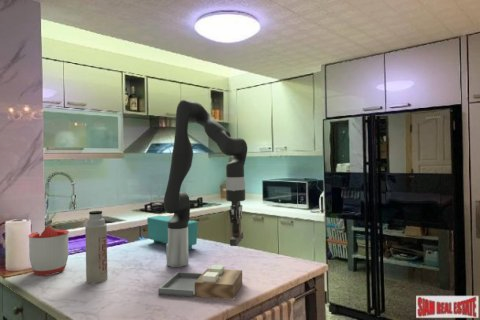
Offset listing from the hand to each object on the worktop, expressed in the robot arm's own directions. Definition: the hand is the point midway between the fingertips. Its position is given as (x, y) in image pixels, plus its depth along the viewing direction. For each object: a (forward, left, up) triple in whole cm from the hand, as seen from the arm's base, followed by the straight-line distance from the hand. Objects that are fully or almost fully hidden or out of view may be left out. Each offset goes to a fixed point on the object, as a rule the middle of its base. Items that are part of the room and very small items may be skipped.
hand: (236, 232), depth 137 cm
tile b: (-7, -5, -15) cm, 17 cm away
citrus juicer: (-85, -2, -20) cm, 87 cm away
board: (-5, -9, -20) cm, 22 cm away
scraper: (0, 0, -4) cm, 4 cm away
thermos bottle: (-57, -8, -20) cm, 61 cm away
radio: (-48, +48, -20) cm, 71 cm away
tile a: (-7, -13, -15) cm, 21 cm away
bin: (-19, -9, -20) cm, 29 cm away
